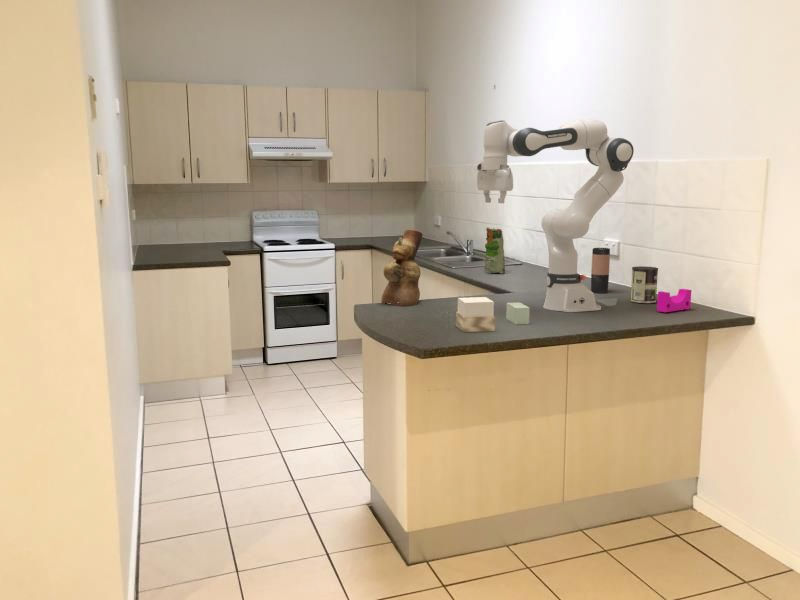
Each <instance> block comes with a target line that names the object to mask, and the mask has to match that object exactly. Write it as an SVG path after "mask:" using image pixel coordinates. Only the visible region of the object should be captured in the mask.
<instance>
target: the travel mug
mask: <svg viewBox="0 0 800 600" xmlns="http://www.w3.org/2000/svg"><path fill="white" fill-rule="evenodd" d="M591 257H592V258H591V271H590V272H591V273H590V274H591V275H590V277H591V278H590V279H591V280H590V290H591V291H592V292H593V293H594V294H601V295H603V294H604V295H605V294H608V290H609V281H610V263H611V262H610V261H611V260H610V259H611V248H609V247H593V248H592V255H591Z"/></svg>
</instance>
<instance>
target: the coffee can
mask: <svg viewBox="0 0 800 600" xmlns="http://www.w3.org/2000/svg"><path fill="white" fill-rule="evenodd" d="M631 270H632V271H631V287H630V289H631V290H630V302H633V303H638V304H639V303H640V304H653V303H657V294H658V274H659V273H658V272H659V268H658V267H655V266H645V265H644V266H632V267H631Z"/></svg>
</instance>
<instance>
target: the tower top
mask: <svg viewBox="0 0 800 600" xmlns="http://www.w3.org/2000/svg"><path fill="white" fill-rule="evenodd" d="M494 306H495V302H494V301H493V300H492V299H490V298H488V297H486V296H481V297H479V296H476V297H475V296H474V297H471V296H470V297H457V312H458V313H460V314H461V315H462V316H463V317H494V316H495V314H494V313H495V311H494V310H495V307H494Z"/></svg>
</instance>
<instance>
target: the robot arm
mask: <svg viewBox="0 0 800 600" xmlns="http://www.w3.org/2000/svg"><path fill="white" fill-rule="evenodd" d="M557 147H559V148H561V149H562V150H563V151H565V150H566V151H578V150H580V151H581V150H585V157H586V159H587V161H588V163H590V164H591V165H593V166H596V167H598V168H597V170H596V172H595V174H594V175H593V176H592V177H590V178H589V179H588V180H587V181H586V182H585V183H584V184H583V185H582V186H581V187H579V189H578V190H577V191H576V192H575V194H574V196H573V198H574V199H573V200H572V202H571V203H570V205H569V206H568V207H567V208H564V209H561V208H560V209H558V208H557V209H555V208H554V209H552V210H549V211H547V212H545V214H544V215H543V216H542V218H541V227H542V230H543V232H544V234H545V238H546V244H547V248H548V249H547V250H548V272H547V275H546V287H547V288H546V293H545V300H544V303H543V306H542V308H544V309H545V310H551V311H554V312H555V311H557V312H559V311H560V312H565V313H579V312H581V313H582V312H592V311H601V310H602V306H601V305H600V304H597V302H596V295H595V293H593V292H592V291H591V289H589V287H587V286H586V285H585V284H583V283H582V281H585V280H586V279H587V276H586V275H584V274H579V273H578V259H579V257H578V251H577V249H576V247H575V243H574V240H576V239H580V238H583V237H584V236H585V235H587V233H588V232H589V229H590V223H591V222H592V220H593V218H594V217H595V215H596V214H597V213H598V212H599V211H600V209H602V207H604V205H606V204H607V202H608V201H609V200H611V198H612V197H613V196H615V194H616V192H618V190H619V188H620V187H621V186H622V184H623V183H624V178H625V177H624V174H623V172H622V171H624V170H626V169H627V168H628V165H629V163H631V160H632V158H633V155H634V152H635V151H634V146H633V144H632V142H631V141H630V140H627V139H626V138H624V137H610V136H609V135H608V128H607V126H606V123H605V122H604V121H602V120H601V119H600V120H599V119H578V120H577V119H576V120H572V121H569V122H564V123H562V124H561V125H560V126H559V127H558V129H551V130H550V129H549V130H539V129H537V128H534V127H526V128H525V127H524V128H523V129H518V128H516V127H513V126H512V125H511V124H509V123H508V122H507V121H506V120H497V121H493V122H491V121H490V122H488V123H486V125H485V128H484V133H483V149H484V152H483V153H484V154H483V156H482V157H483V158H482V159H483V160H482V161H481V162H480V163H478V164H477V165H476V171H477V174H476V186H477V190H478V191H483V196H484V203H489V204H490V203H492V198H491V196H490V193H491V191H497V192H499V198H498V201H497V204H504V203H505V198H506V197H507V192H511V191H513V189H514V176H513V172H512V169H511V167H510V165H509V164H508V156H511V157H515V158H517V157H532V156H535V155H538V153H540V152H541V151H543V150H546V149H553V148H557Z"/></svg>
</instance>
